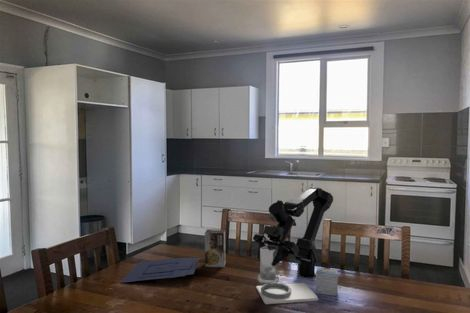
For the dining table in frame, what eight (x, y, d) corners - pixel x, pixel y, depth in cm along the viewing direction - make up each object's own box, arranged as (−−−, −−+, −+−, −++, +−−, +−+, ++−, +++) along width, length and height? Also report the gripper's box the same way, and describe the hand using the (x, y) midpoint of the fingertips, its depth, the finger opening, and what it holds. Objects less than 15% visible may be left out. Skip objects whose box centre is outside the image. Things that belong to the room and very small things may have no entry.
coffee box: (225, 262, 173) (226, 229, 172) (224, 267, 166) (224, 232, 166) (206, 262, 174) (207, 228, 173) (204, 266, 167) (204, 232, 167)
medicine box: (337, 292, 141) (338, 270, 141) (337, 296, 137) (337, 274, 136) (317, 289, 144) (317, 267, 143) (315, 293, 139) (316, 271, 139)
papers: (193, 282, 146) (192, 273, 146) (120, 289, 148) (119, 280, 148) (201, 261, 171) (200, 254, 170) (139, 268, 172) (138, 260, 172)
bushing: (272, 274, 143) (272, 244, 142) (282, 281, 136) (282, 250, 135) (254, 277, 140) (253, 247, 139) (263, 285, 133) (263, 253, 132)
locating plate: (304, 285, 147) (304, 279, 147) (318, 300, 133) (318, 293, 133) (256, 288, 144) (256, 282, 144) (265, 304, 130) (265, 297, 130)
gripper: (255, 213, 146) (237, 247, 138) (295, 221, 133) (277, 258, 126) (267, 229, 152) (250, 261, 145) (306, 237, 140) (290, 274, 132)
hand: (265, 263), depth 137 cm, fingers closed on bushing, 6 cm apart
